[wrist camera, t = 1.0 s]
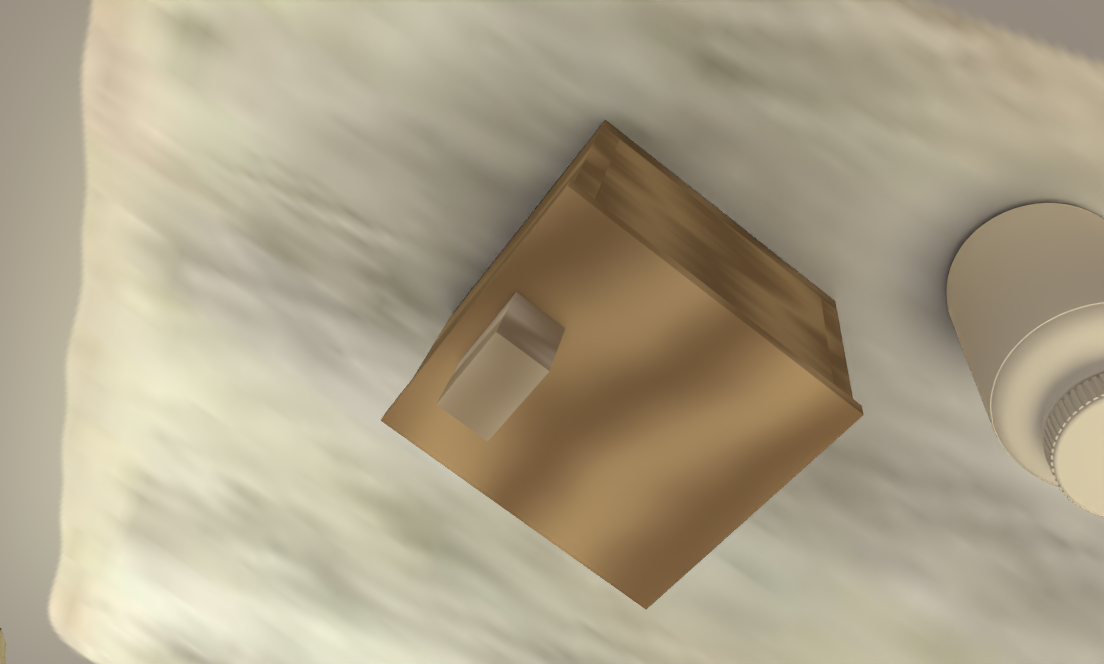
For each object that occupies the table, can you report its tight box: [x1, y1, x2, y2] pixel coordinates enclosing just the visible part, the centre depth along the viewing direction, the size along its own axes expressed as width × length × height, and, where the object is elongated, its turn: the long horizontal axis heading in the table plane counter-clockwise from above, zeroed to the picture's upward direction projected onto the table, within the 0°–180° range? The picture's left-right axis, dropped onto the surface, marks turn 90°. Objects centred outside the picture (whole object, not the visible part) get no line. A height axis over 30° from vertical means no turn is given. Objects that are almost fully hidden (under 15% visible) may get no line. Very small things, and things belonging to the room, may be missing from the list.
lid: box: [381, 180, 863, 609], centre depth 40 cm, size 14×13×4 cm
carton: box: [413, 120, 853, 399], centre depth 47 cm, size 14×13×10 cm
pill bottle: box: [947, 203, 1104, 517], centre depth 41 cm, size 8×8×15 cm
